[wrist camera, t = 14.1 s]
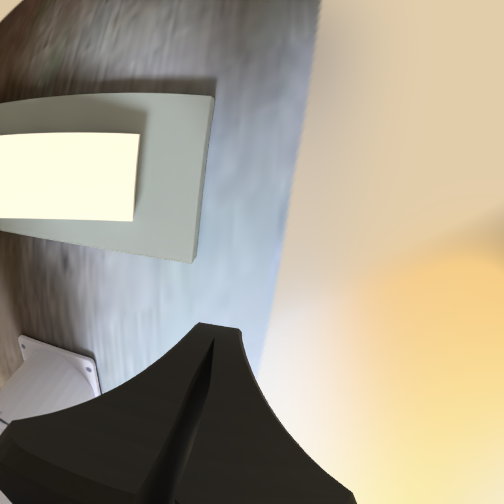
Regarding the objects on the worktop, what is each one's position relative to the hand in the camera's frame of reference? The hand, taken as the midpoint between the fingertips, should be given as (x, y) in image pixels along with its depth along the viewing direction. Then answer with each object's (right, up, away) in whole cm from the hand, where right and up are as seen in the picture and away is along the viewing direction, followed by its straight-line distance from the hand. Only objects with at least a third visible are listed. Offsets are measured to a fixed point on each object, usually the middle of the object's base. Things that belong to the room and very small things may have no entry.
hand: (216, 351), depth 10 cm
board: (-13, +9, +8) cm, 17 cm away
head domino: (-5, +7, +6) cm, 10 cm away
